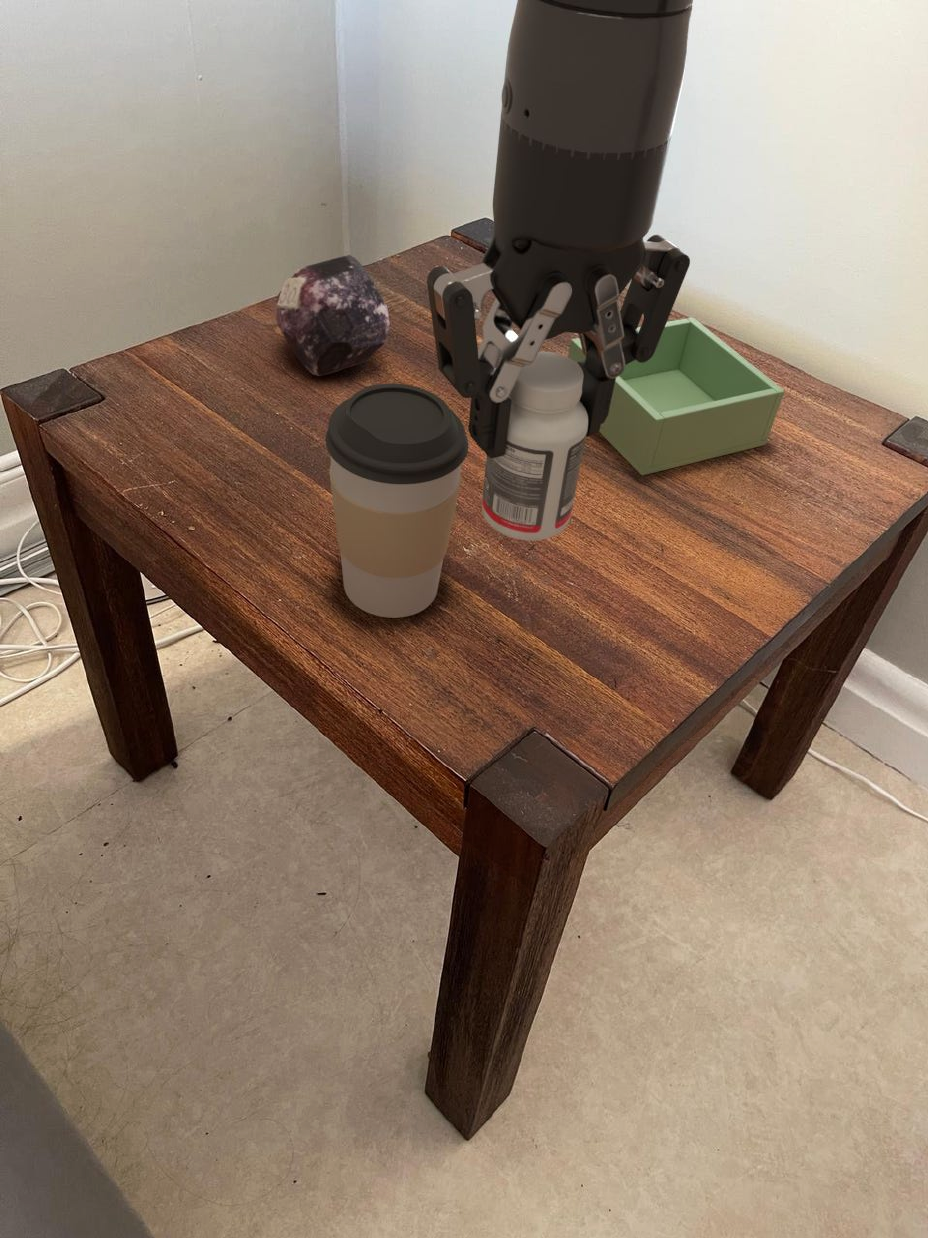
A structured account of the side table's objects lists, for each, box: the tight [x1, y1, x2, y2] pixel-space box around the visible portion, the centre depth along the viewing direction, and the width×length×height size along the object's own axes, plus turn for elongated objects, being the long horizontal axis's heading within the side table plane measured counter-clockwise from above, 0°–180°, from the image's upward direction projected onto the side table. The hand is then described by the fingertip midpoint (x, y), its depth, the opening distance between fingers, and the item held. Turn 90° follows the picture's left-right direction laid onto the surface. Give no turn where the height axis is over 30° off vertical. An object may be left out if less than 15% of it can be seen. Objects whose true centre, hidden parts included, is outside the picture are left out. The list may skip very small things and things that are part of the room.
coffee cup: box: [324, 383, 469, 619], centre depth 65 cm, size 9×9×15 cm
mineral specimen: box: [275, 254, 390, 377], centre depth 88 cm, size 10×10×10 cm
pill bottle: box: [481, 350, 588, 542], centre depth 55 cm, size 5×5×10 cm
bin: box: [567, 316, 786, 476], centre depth 87 cm, size 14×14×6 cm
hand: (537, 437), depth 54 cm, fingers closed on pill bottle, 5 cm apart
